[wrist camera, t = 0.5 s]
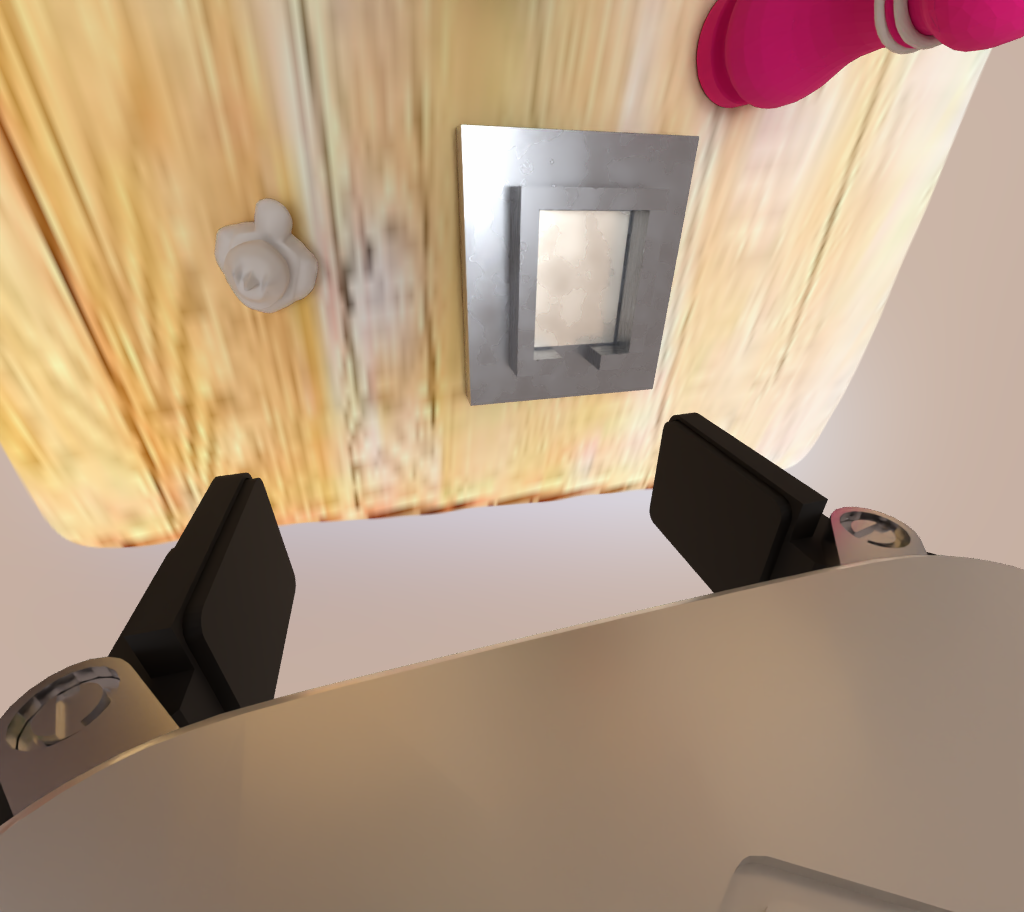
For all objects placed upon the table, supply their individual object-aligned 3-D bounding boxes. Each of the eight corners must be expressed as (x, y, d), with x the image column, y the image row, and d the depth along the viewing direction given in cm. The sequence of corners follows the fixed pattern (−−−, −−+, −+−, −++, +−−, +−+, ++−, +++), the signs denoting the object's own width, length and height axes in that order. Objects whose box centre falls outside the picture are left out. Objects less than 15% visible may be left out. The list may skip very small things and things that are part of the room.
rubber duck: (221, 289, 29) (177, 319, 23) (234, 179, 27) (188, 176, 20) (311, 316, 32) (294, 351, 25) (330, 216, 29) (318, 225, 22)
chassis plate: (456, 128, 28) (468, 119, 25) (682, 139, 32) (723, 132, 28) (466, 395, 37) (476, 419, 34) (641, 380, 41) (668, 400, 37)
